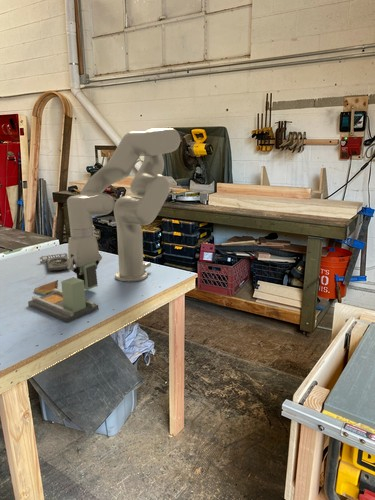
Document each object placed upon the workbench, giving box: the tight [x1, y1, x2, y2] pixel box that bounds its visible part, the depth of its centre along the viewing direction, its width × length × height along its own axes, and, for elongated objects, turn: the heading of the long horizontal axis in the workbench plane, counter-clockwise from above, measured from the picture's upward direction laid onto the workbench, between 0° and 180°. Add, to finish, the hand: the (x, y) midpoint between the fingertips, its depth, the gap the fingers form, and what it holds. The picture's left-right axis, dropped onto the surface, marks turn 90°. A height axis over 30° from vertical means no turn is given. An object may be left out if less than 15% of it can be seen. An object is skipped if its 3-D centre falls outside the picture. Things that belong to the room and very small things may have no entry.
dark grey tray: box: [27, 288, 99, 324], centre depth 120 cm, size 12×20×3 cm, turn 54°
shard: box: [33, 279, 59, 296], centre depth 135 cm, size 11×8×2 cm
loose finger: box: [82, 262, 98, 291], centre depth 132 cm, size 4×6×9 cm
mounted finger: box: [60, 276, 86, 312], centre depth 116 cm, size 4×6×9 cm
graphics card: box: [39, 253, 69, 272], centre depth 160 cm, size 17×4×12 cm
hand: (87, 281), depth 133 cm, fingers closed on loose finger, 4 cm apart
